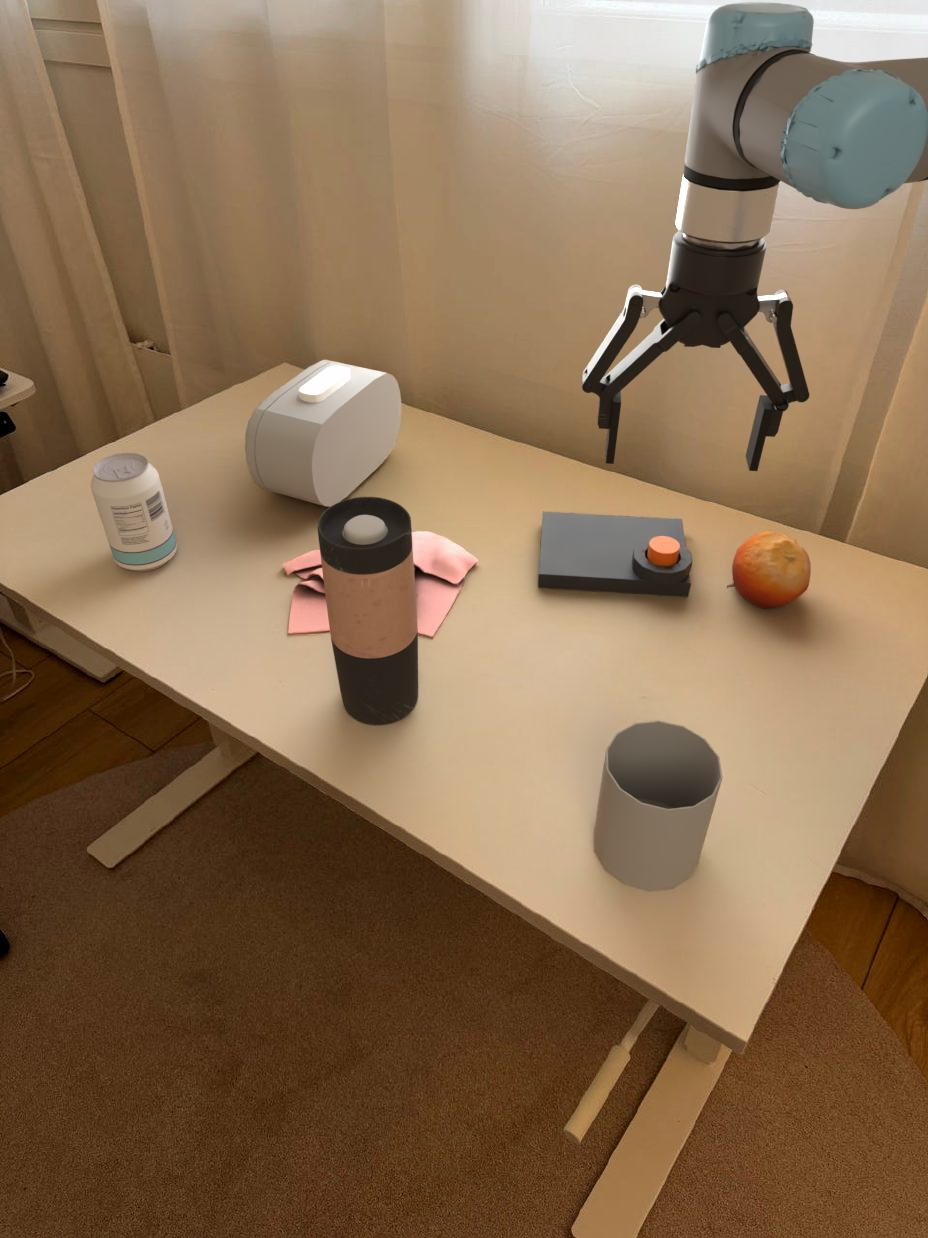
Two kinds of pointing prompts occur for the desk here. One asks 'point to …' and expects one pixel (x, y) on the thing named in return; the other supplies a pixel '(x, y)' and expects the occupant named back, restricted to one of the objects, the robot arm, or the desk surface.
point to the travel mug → (371, 606)
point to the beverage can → (133, 511)
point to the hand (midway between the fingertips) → (679, 460)
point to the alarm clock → (323, 432)
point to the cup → (655, 804)
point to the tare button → (663, 551)
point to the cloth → (434, 584)
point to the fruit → (771, 570)
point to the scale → (610, 554)
